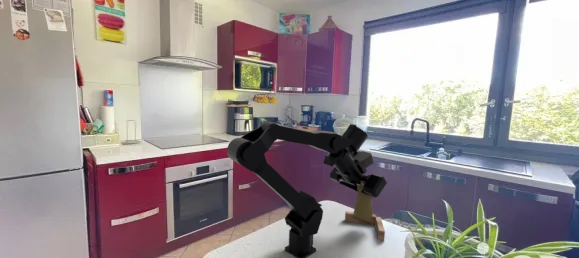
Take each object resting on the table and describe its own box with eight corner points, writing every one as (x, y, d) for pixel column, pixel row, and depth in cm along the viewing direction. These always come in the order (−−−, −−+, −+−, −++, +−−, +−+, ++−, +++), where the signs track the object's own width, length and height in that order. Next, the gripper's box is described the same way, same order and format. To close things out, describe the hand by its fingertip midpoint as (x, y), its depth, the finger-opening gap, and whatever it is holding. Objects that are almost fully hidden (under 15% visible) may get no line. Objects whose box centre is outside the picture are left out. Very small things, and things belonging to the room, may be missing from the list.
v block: (381, 242, 78) (382, 232, 77) (342, 220, 91) (343, 211, 91) (398, 235, 82) (399, 226, 82) (359, 215, 96) (359, 207, 95)
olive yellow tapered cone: (371, 220, 81) (374, 185, 79) (351, 216, 83) (354, 182, 82) (373, 213, 86) (376, 180, 85) (355, 209, 88) (357, 177, 87)
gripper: (385, 148, 72) (406, 182, 79) (338, 139, 88) (359, 168, 95) (363, 180, 69) (387, 212, 76) (318, 164, 84) (341, 192, 91)
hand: (367, 194), depth 85 cm, fingers closed on olive yellow tapered cone, 5 cm apart
